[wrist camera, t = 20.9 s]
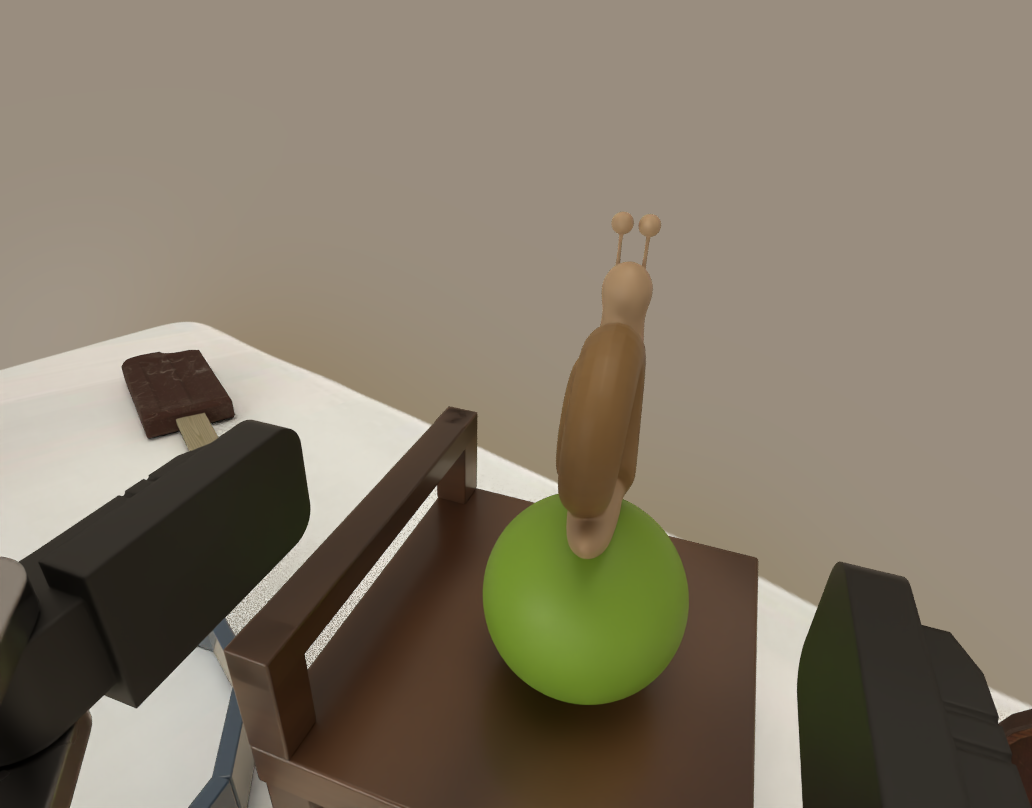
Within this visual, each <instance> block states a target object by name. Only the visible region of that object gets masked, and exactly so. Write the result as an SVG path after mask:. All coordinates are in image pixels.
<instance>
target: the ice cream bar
mask: <svg viewBox="0 0 1032 808" xmlns="http://www.w3.org/2000/svg"><path fill="white" fill-rule="evenodd" d="M122 371H123V374H124V378H125V381H126V384H127V386H128V389H129V391H130V394H131V397H132V399H133V402H134V404H135V407H136V410H137V412H138V415H139V417H140V420H141V423H142V425H143V428H144V430H145V433H146V436H147V437H148V438H153V437H157V436H161V435H165V434H169V433H173V432H177V431H180V432H181V434H182V436H183V438H184V440H185V443H186V445H187V447H188V449H189V451H192V450H194V449H197V448H199V447H202V446H204V445H207V444H209V443H211V442H213V441H214V440H216V439H217V438H218V436H217V434H216V432H215V431H214V429H213V427H212V425H211V423H212V422H216V421H220V420H224V419H228V418H232V417H234V415H235V414H234V409H233V405H232V401H231V399H230V397H229V396H228V394H227V392H226V391H225V389H224V388H223V386H222V385H221V383H220V382H219V380H218V379H217V377H216V376H215V374H214V372H213V371H212V369H211V368H210V366H209V365H208V363H207V362H206V360H205V359H204V357H203V356H202V354H201V352H200V351H199V350H187V351H182V352H176V353H161V352H156V353H150V354H145V355H139V356H136V357H132V358H130V359H127V360H126V361H125V362H124V363H123V365H122Z"/></svg>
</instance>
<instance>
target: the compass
mask: <svg viewBox="0 0 1032 808" xmlns="http://www.w3.org/2000/svg"><path fill="white" fill-rule="evenodd" d="M998 725H1000V726H1002V727H1003V730H1004V733H1005V735H1006V738H1007V741H1008V744H1009V747H1010V749H1011V752H1012V758H1011V761H1012V764H1014V765H1016V766H1017V769H1018V772H1019V774H1020V777H1021V780H1022V783H1023V786H1024V788H1025V791H1026V794H1027V797H1028V800H1029V802H1030V805H1031V808H1032V709H1030V710H1026V711H1022V712H1019V713H1015V714H1012V715H1010V716H1009V717H1007V718H1006V719H1004V720H1003V721H1001V722H1000V723H999V724H998Z"/></svg>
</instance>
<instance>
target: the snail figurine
mask: <svg viewBox="0 0 1032 808" xmlns="http://www.w3.org/2000/svg"><path fill="white" fill-rule="evenodd" d="M633 224H634V221H633V217H632V216H631V215H630V214H629V213H627V212H619V213H617V214H616V215H615V216H614V217H613V219H612V228H613V230H614V231H615V232H616V233H618V234H619V244H618V253H617V260H616V266H615V267H613V268H612V269H611V270H610V271H609V272H608V274H607V275H606V277H605V279H604V282H603V285H602V304H603V313H602V320H601V324H600V327H598V328H597V329H596V330H594V331H593V332H592V333H591V334H590V336H589V337H588V338H587V339H586V341H585V343H584V345H583V348H582V350H581V353H580V356H579V358H578V360H577V361H576V363H575V365H574V366H573V369H572V371H571V374H570V377H569V381H568V384H567V388H566V393H565V397H564V402H563V407H562V414H561V419H560V426H559V433H558V441H557V453H556V469H557V473H558V493H559V494H555V495H552V496H549V497H547V498H544V499H542V500H540V501H538V502H536V503H534V504H532V505H531V506H529V507H528V508H526V509H525V510H523V511H522V512H521V513H520V514H519V515H517V516H516V517H515V518H514V519H513V520H512V521H511V522H510V523H509V524H508V526H507V527H506V528H505V529H504V531H503V532H502V533H501V535H500V536H499V538H498V540H497V541H496V543H495V545H494V547H493V549H492V552H491V554H490V556H489V559H488V562H487V566H486V570H485V575H484V581H483V607H484V614H485V619H486V623H487V627H488V630H489V633H490V635H491V638H492V640H493V642H494V644H495V646H496V648H497V650H498V652H499V653H500V655H501V657H502V658H503V659H504V661H505V662H506V664H507V665H508V666H509V667H510V668H511V670H512V671H513V672H514V673H515V674H516V675H517V676H518V677H519V678H521V679H522V680H523V681H524V682H525V683H527V684H528V685H529V686H531V687H532V688H534V689H535V690H537V691H539V692H541V693H543V694H545V695H547V696H549V697H551V698H554V699H557V700H560V701H563V702H567V703H573V704H581V705H597V704H605V703H610V702H614V701H618V700H621V699H624V698H626V697H629V696H631V695H633V694H635V693H637V692H638V691H640V690H642V689H643V688H645V687H646V686H647V685H649V684H650V683H651V682H653V681H654V680H655V679H656V678H657V677H658V676H659V675H660V674H661V673H662V672H663V671H664V669H665V668H666V667H667V666H668V664H669V663H670V661H671V660H672V658H673V657H674V655H675V653H676V652H677V650H678V648H679V645H680V643H681V641H682V638H683V635H684V632H685V628H686V624H687V618H688V610H689V592H688V584H687V578H686V574H685V570H684V567H683V564H682V561H681V559H680V556H679V554H678V552H677V550H676V548H675V546H674V544H673V543H672V541H671V540H670V538H669V537H668V535H667V534H666V533H665V531H664V530H663V529H662V528H661V527H660V525H659V524H658V523H657V522H656V521H655V520H654V519H653V518H652V517H650V516H649V515H648V514H647V513H645V512H644V511H642V510H641V509H640V508H638V507H637V506H635V505H633V504H632V503H630V502H628V501H626V500H624V499H623V497H624V495H625V494H626V492H627V491H628V489H629V488H630V486H631V485H632V483H633V481H634V478H635V473H636V464H637V454H638V444H639V433H640V422H641V412H642V401H643V391H644V379H645V365H646V355H645V346H644V343H643V341H644V322H645V316H646V312H647V309H648V306H649V304H650V301H651V297H652V291H653V286H652V281H651V278H650V275H649V274H648V272H647V271H646V261H647V254H648V247H649V241H650V237H652V236H655V235H656V234H657V233H658V232H659V231H660V228H661V221H660V219H659V218H658V217H657V216H656V215H653V214H648V215H645V216H644V217H642V218H641V220H640V222H639V231H640V232H641V234H642V235H644V236H646V245H645V252H644V259H643V263H642V266H641V265H639V264H637V263H635V262H623V263H620V256H621V245H622V238H623V235H624V234H626V233H628V232H630V231H631V229H632V228H633Z"/></svg>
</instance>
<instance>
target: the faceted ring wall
mask: <svg viewBox="0 0 1032 808" xmlns="http://www.w3.org/2000/svg"><path fill="white" fill-rule="evenodd" d="M234 638H235V634H234V632H233V630H232V629H231V627H230V625H229V623H228V622H227V620H226V618H224V619H223V620H222V621H221V622H220V623H219V624H218V625H217V626H216V627H215V629H214V630H213V631H212V632H211V633H210V634H209V635H208V636H207V637H206V638H205V639H204V640H203V641H202V642H201V643H200V644H199V645H198V646H200V647H203V648H205V649H208V650H211V651H213V652H214V654H215V656H216V658H217V660H218V661H219V663H220V665H221V667H222V669H223V671H224V673H225V675H226V677H227V679H228V681H229V682H230V684H231V686H232V692H231V697H230V701H229V705H228V710H227V714H226V718H225V723H224V727H223V731H222V736H221V740H220V745H219V749H218V753H217V758H216V762H215V766H214V771H213V775H212V778H211V779H210V780H209V781H208V783H207V784H206V785H205V787H204V788H203V789H202V790H201V792H200V793H199V794H198V796H197V797H196V798H195V799H194V801H193V802H192V803H191V805H190V806H189V807H188V808H247V805H248V799H249V793H250V788H251V782H252V776H253V771H254V765H255V763H254V759H253V755H252V752H251V748H250V747H251V745H249V743H248V739H247V735H246V732H245V728H244V724H243V721H242V717H241V714H240V710H239V706H238V703H237V699H236V695H235V692H234V688H233V684H232V681H231V677H230V674H229V670H228V666H227V663H226V659H225V655H224V652H223V651H224V648H225V647H226V646H227V645H228V644H229V643H230V642H231V641H232V640H233V639H234Z"/></svg>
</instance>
